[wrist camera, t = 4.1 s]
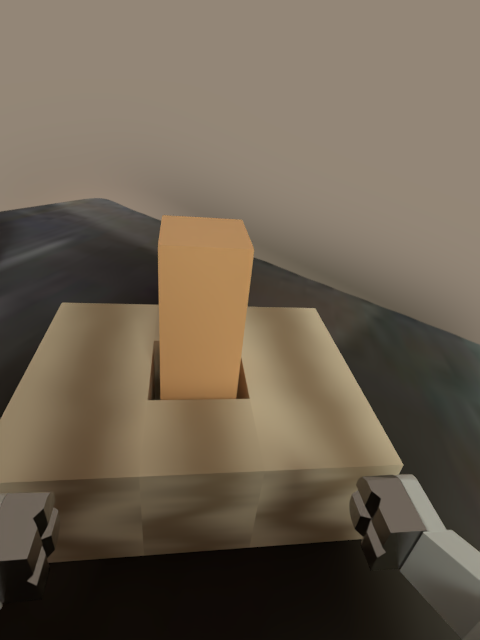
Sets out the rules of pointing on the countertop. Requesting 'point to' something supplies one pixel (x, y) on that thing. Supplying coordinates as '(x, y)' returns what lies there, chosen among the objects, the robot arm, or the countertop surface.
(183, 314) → the plug
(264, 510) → the socket
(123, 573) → the countertop surface
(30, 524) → the robot arm
